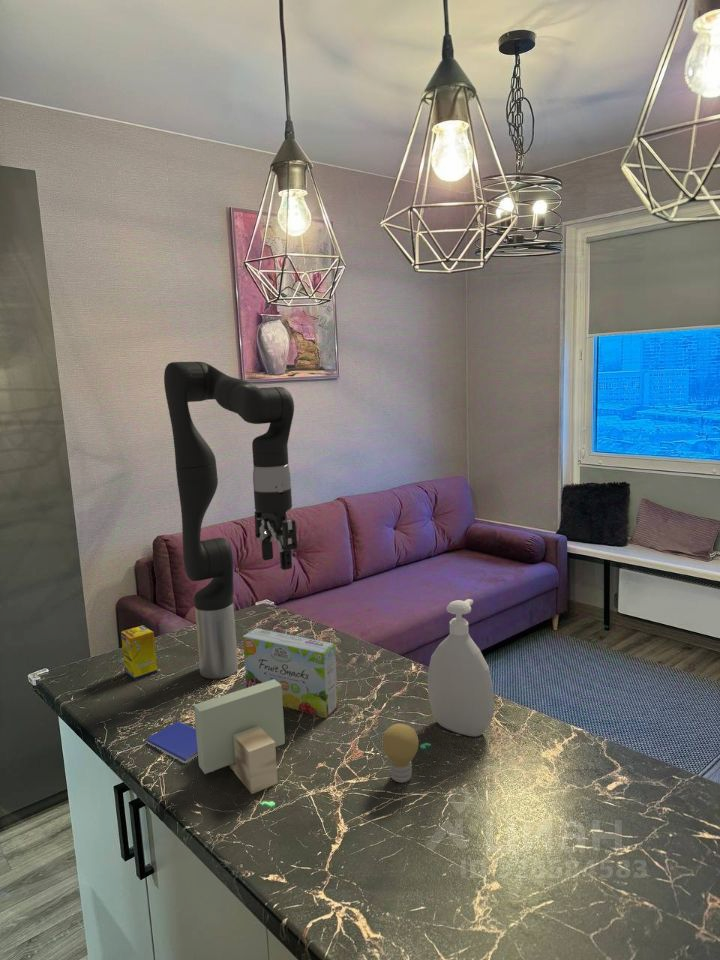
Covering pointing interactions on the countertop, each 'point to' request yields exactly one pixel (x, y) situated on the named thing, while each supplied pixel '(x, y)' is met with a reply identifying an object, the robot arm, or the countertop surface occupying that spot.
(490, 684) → the soap bottle
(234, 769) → the slotted block
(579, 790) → the countertop surface
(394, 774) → the light bulb
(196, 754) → the hard drive
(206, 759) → the sage plate
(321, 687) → the snack box
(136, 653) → the supplement box
